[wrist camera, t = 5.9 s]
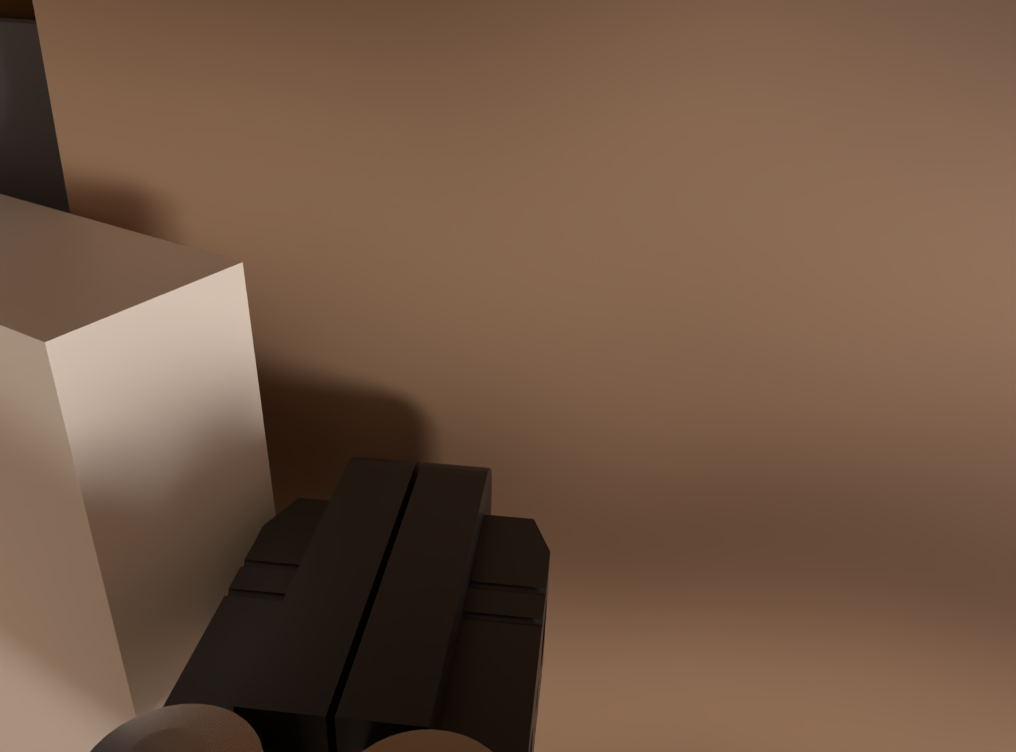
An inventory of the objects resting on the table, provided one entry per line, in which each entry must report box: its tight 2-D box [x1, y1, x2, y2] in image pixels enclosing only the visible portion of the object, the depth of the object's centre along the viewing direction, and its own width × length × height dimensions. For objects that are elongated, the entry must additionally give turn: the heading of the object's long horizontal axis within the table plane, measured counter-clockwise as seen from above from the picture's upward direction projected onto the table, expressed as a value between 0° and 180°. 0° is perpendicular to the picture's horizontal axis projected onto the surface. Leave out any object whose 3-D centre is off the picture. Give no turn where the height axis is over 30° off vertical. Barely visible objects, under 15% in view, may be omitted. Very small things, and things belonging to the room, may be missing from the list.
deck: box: [32, 0, 1016, 752], centre depth 12 cm, size 12×16×2 cm
